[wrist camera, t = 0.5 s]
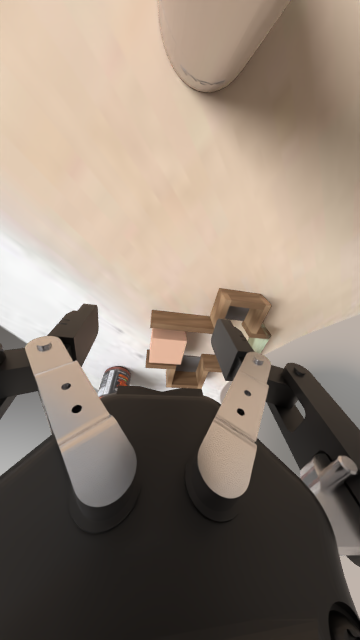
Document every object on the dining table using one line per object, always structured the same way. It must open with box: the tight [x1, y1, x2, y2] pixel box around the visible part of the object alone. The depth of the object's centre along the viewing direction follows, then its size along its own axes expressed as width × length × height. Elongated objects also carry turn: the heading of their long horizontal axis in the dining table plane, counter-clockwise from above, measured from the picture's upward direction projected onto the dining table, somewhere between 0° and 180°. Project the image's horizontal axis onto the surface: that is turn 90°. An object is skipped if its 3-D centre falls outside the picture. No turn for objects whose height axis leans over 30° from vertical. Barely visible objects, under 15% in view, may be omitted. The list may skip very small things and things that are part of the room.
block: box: [149, 328, 187, 365], centre depth 36 cm, size 6×6×5 cm
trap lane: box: [146, 288, 272, 389], centre depth 37 cm, size 23×22×4 cm
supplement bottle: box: [97, 367, 130, 398], centre depth 39 cm, size 6×6×11 cm
